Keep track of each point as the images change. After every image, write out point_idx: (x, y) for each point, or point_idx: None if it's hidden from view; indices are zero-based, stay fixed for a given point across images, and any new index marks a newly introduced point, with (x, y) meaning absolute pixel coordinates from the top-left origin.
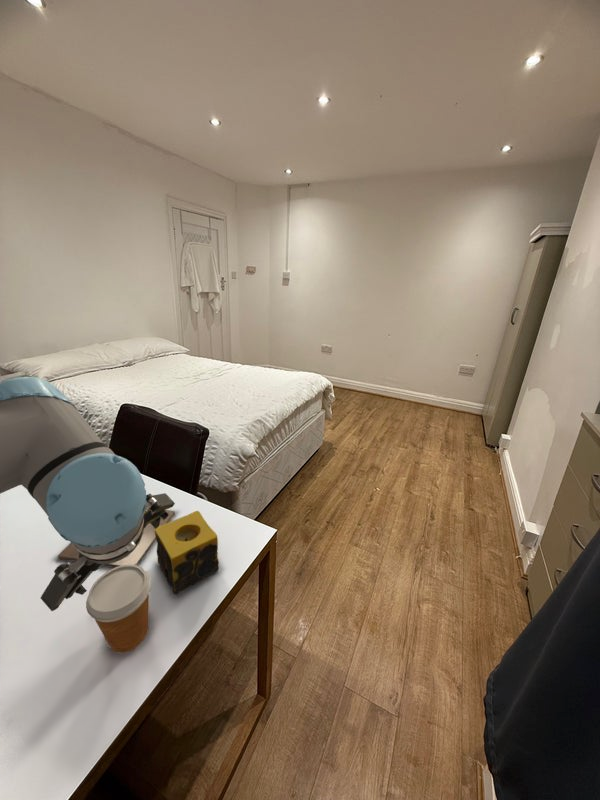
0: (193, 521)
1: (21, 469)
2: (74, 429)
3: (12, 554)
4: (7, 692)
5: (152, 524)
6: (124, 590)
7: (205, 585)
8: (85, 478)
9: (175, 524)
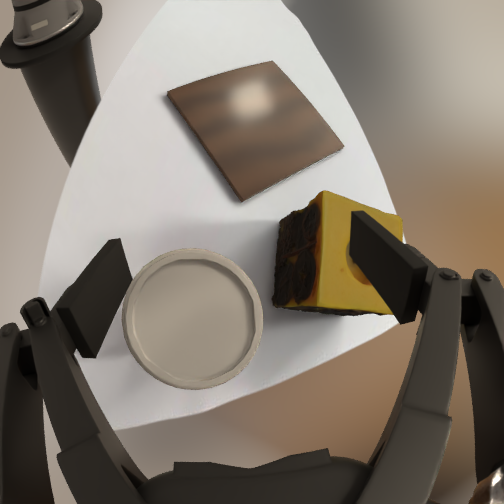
0: None
1: None
2: None
3: (132, 56)
4: (43, 265)
5: (356, 247)
6: (201, 338)
7: (316, 325)
8: None
9: None
